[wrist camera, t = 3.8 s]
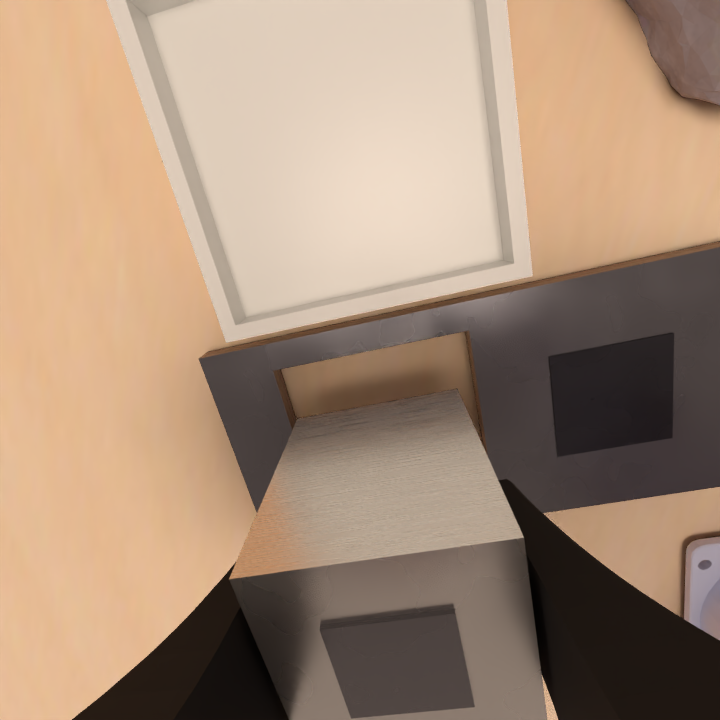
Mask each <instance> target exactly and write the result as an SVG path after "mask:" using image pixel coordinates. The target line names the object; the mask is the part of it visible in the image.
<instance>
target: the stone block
mask: <svg viewBox="0 0 720 720" xmlns="http://www.w3.org/2000/svg"><path fill="white" fill-rule="evenodd" d="M626 2H627V3H628V4H629V6H630V7H631V8H632V10H633V11H634V12H635V13H636V15H637V17H638V19H639V22H640V25H641V28H642V30H643V32H644V34H645V36H646V39H647V43H648V46H649V50H650V53H651V56H652V57H653V59H654V60H655V61H656V63H657V64H658V66H659V67H660V69H661V70H662V71H663V72H664V74H665V76H666V77H667V79H668V81H669V83H670V85H671V86H672V87H673V88H674V89H675V90H676V91H677V92H678V93H679V94H680V95H682V96H683V97H687V98H693V99H699V100H703V101H707V102H710V103H714V104H717V105H720V0H626Z"/></svg>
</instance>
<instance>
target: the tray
mask: <svg viewBox="0 0 720 720" xmlns="http://www.w3.org/2000/svg"><path fill="white" fill-rule="evenodd" d="M106 1H107V4H108V7H109V10H110V12H111V15H112V18H113V21H114V24H115V27H116V30H117V32H118V35H119V38H120V41H121V44H122V47H123V49H124V52H125V55H126V58H127V61H128V64H129V67H130V69H131V72H132V75H133V78H134V81H135V84H136V87H137V89H138V92H139V95H140V98H141V101H142V104H143V107H144V109H145V112H146V115H147V118H148V121H149V124H150V127H151V129H152V132H153V135H154V138H155V141H156V144H157V147H158V149H159V152H160V155H161V158H162V161H163V164H164V167H165V169H166V172H167V175H168V178H169V181H170V184H171V186H172V189H173V192H174V195H175V198H176V201H177V204H178V206H179V209H180V212H181V215H182V218H183V221H184V224H185V226H186V229H187V232H188V235H189V238H190V241H191V244H192V246H193V249H194V252H195V255H196V258H197V261H198V264H199V266H200V269H201V272H202V275H203V278H204V281H205V284H206V286H207V289H208V292H209V295H210V298H211V301H212V304H213V306H214V309H215V312H216V315H217V318H218V321H219V324H220V326H221V329H222V332H223V335H224V338H225V341H226V343H228V342H232V341H237V340H242V339H246V338H251V337H255V336H260V335H265V334H269V333H274V332H278V331H283V330H288V329H292V328H297V327H301V326H306V325H311V324H315V323H320V322H324V321H329V320H334V319H338V318H343V317H347V316H352V315H357V314H361V313H366V312H370V311H375V310H379V309H384V308H389V307H393V306H398V305H402V304H407V303H412V302H416V301H421V300H425V299H430V298H435V297H439V296H444V295H448V294H453V293H458V292H462V291H467V290H471V289H476V288H481V287H485V286H490V285H494V284H499V283H504V282H508V281H513V280H517V279H522V278H527V277H531V276H533V273H532V263H531V252H530V241H529V231H528V220H527V210H526V199H525V188H524V178H523V167H522V157H521V146H520V135H519V125H518V114H517V104H516V93H515V83H514V72H513V61H512V51H511V40H510V30H509V19H508V8H507V0H106Z"/></svg>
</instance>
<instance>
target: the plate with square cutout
mask: <svg viewBox="0 0 720 720" xmlns="http://www.w3.org/2000/svg"><path fill="white" fill-rule="evenodd" d="M464 331H466V338H467V344H468V351H469V357H470V364H471V371H472V377H473V384H474V390H475V397H476V403H477V410H478V416H479V423H480V429H481V436H482V442H483V447H484V449H485V452H486V454H487V456H488V458H489V461H490V463H491V465H492V467H493V470H494V472H495V474H496V476H497V478H498V480H503V479H508V480H510V481H511V482H512V483H513V484H514V485H515V486H516V487H517V488H518V489H519V490H520V491H521V492H522V493H523V494H524V496H525V497H526V498H527V499H528V500H529V501H530V502H531V503H532V504H533V505H535V506H536V507H537V508H538V509H539V510H540V511H541V512H542V513H546V512H553V511H560V510H566V509H573V508H580V507H587V506H593V505H600V504H607V503H613V502H620V501H627V500H633V499H640V498H647V497H654V496H660V495H667V494H674V493H680V492H687V491H694V490H700V489H707V488H714V487H720V241H719V242H714V243H710V244H705V245H700V246H696V247H691V248H687V249H682V250H677V251H673V252H668V253H663V254H659V255H654V256H649V257H645V258H640V259H636V260H631V261H626V262H622V263H617V264H612V265H608V266H603V267H599V268H594V269H589V270H585V271H580V272H575V273H571V274H566V275H561V276H557V277H552V278H548V279H543V280H538V281H534V282H529V283H524V284H520V285H515V286H510V287H506V288H501V289H497V290H492V291H487V292H483V293H478V294H473V295H469V296H464V297H460V298H455V299H450V300H446V301H441V302H436V303H432V304H427V305H422V306H418V307H413V308H409V309H404V310H399V311H395V312H390V313H385V314H381V315H376V316H372V317H367V318H362V319H358V320H353V321H348V322H344V323H339V324H334V325H330V326H325V327H321V328H316V329H311V330H307V331H302V332H297V333H293V334H288V335H283V336H279V337H274V338H270V339H265V340H260V341H256V342H251V343H246V344H242V345H237V346H233V347H228V348H223V349H219V350H214V351H209V352H207V353H206V354H204V355H203V356H202V357H200V358H199V361H200V363H201V366H202V369H203V371H204V374H205V377H206V379H207V382H208V384H209V387H210V390H211V392H212V395H213V398H214V400H215V403H216V406H217V408H218V411H219V414H220V416H221V419H222V422H223V424H224V427H225V429H226V432H227V435H228V437H229V440H230V443H231V445H232V448H233V451H234V453H235V456H236V459H237V461H238V464H239V467H240V469H241V472H242V474H243V477H244V480H245V482H246V485H247V488H248V490H249V493H250V496H251V498H252V501H253V504H254V506H255V509H256V512H258V510H259V508H260V505H261V503H262V501H263V498H264V496H265V494H266V491H267V489H268V487H269V484H270V482H271V479H272V477H273V475H274V472H275V470H276V468H277V465H278V463H279V461H280V458H281V456H282V454H283V451H284V449H285V447H286V444H287V442H288V440H289V437H290V435H291V433H292V430H293V428H294V426H295V423H296V418H295V415H294V412H293V408H292V405H291V402H290V399H289V396H288V392H287V389H286V386H285V383H284V380H283V376H282V373H281V370H280V369H284V368H289V367H293V366H298V365H303V364H308V363H313V362H318V361H323V360H327V359H332V358H337V357H342V356H347V355H352V354H357V353H361V352H366V351H371V350H376V349H381V348H386V347H391V346H395V345H400V344H405V343H410V342H415V341H420V340H425V339H430V338H434V337H439V336H444V335H449V334H454V333H459V332H464Z"/></svg>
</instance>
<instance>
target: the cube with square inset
mask: <svg viewBox="0 0 720 720" xmlns="http://www.w3.org/2000/svg"><path fill="white" fill-rule="evenodd" d="M229 581H230V583H231V585H232V588H233V590H234V592H235V595H236V597H237V599H238V602H239V604H240V606H241V609H242V611H243V613H244V616H245V618H246V620H247V623H248V625H249V627H250V630H251V632H252V634H253V637H254V639H255V641H256V644H257V646H258V648H259V651H260V653H261V655H262V658H263V660H264V662H265V665H266V667H267V669H268V672H269V674H270V676H271V679H272V681H273V683H274V686H275V688H276V690H277V693H278V695H279V697H280V700H281V702H282V704H283V707H284V709H285V711H286V714H287V716H288V718H289V720H547V713H546V706H545V698H544V690H543V682H542V674H541V667H540V659H539V651H538V643H537V635H536V628H535V620H534V612H533V604H532V596H531V589H530V581H529V573H528V565H527V557H526V550H525V542H524V537H523V534H522V532H521V530H520V528H519V525H518V523H517V521H516V519H515V517H514V514H513V512H512V510H511V508H510V505H509V503H508V501H507V499H506V496H505V494H504V492H503V490H502V487H501V485H500V483H499V481H498V478H497V476H496V474H495V472H494V470H493V467H492V465H491V463H490V461H489V458H488V456H487V454H486V452H485V449H484V447H483V445H482V443H481V440H480V438H479V436H478V434H477V432H476V429H475V427H474V425H473V423H472V420H471V418H470V416H469V414H468V411H467V409H466V407H465V405H464V402H463V400H462V398H461V396H460V394H459V391H458V389H453V390H448V391H442V392H437V393H432V394H427V395H421V396H416V397H411V398H405V399H400V400H395V401H389V402H384V403H379V404H373V405H368V406H363V407H358V408H352V409H347V410H342V411H336V412H331V413H326V414H320V415H315V416H310V417H304V418H299V419H297V421H296V423H295V426H294V428H293V430H292V433H291V435H290V437H289V440H288V442H287V444H286V447H285V449H284V451H283V454H282V456H281V458H280V461H279V463H278V465H277V468H276V470H275V472H274V475H273V477H272V479H271V482H270V484H269V487H268V489H267V491H266V494H265V496H264V498H263V501H262V503H261V505H260V508H259V510H258V512H257V515H256V517H255V519H254V522H253V524H252V526H251V529H250V531H249V533H248V536H247V538H246V540H245V543H244V545H243V548H242V550H241V552H240V555H239V557H238V559H237V562H236V564H235V566H234V569H233V571H232V573H231V576H230V578H229Z"/></svg>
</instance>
